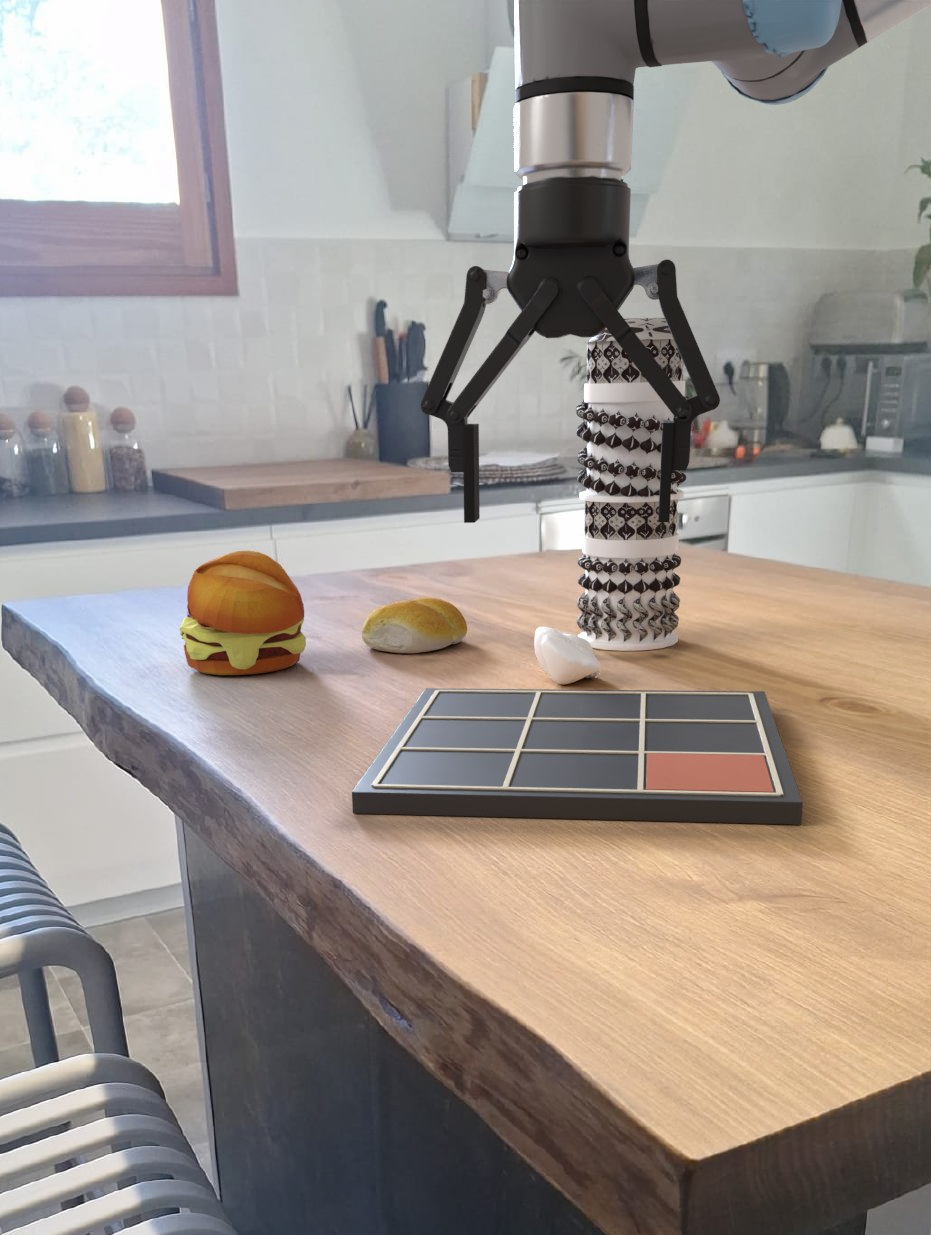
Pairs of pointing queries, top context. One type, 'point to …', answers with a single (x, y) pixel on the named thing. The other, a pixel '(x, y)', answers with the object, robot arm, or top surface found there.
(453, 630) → the bread roll
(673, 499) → the decorative candle
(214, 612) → the cheeseburger
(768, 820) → the board
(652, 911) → the top surface
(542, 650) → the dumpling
